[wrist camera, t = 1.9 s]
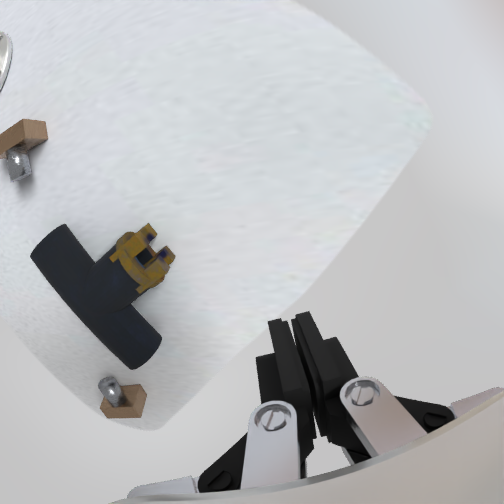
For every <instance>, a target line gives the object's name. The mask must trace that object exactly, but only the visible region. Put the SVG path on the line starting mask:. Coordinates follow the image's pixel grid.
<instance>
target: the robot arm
mask: <svg viewBox="0 0 504 504" xmlns="http://www.w3.org/2000/svg"><path fill="white" fill-rule="evenodd" d="M11 55H12V43H11V39H10V37H9V36H8V34H6V33H4V32H2V31H0V90H1V88H2V86H3V83H4V81H5V78H6V76H7V72H8V69H9V66H10V61H11ZM291 322H292V327H293V332H294V338H295V342H294V339H293V336H292V333H291V330H290V327H289V324H288V322H287V321H283V322H282V320H281V318H280V319H276V320H272V321H268V325H269V330H270V334H271V339H272V343H273V348H274V352H275V353H272V354H267V355H263V356H258V357H256V365H257V373H258V379H259V380H258V381H259V389H260V396H261V405H260V406H258V407H257V408H256V409H255V410H254V411H253V412H252V413H251V416H250V419H249V426H248V432H247V433H246V434H245V435H244V436H243V437H242V438H241V439H240V440H239V441H238V442H237V443H236V444H235V445H233V447H231V448H230V449H229V450H228V451H227V452H226V453H225V454H224V455H222V456H221V457H220V458H219V459H218V460H217V461H216V462H214V463H213V464H212V465H211V466H210V467H209V468H208V469H206V470H205V471H204V472H203V473H202V474H201V475H200V476H199V477H195V478H192V476H188V477H184V478H179V479H174V480H170V481H164V482H159V483H153V484H147V485H141V486H137V487H135V488H134V489H132V490H131V491H130V492H129V494H128V495H127V499H122V500H119V501H115V502H112V503H109V504H504V388H499V387H497V388H492V389H490V390H487V391H484V392H482V393H479V394H476V395H474V396H471V397H468V398H465V399H462V400H459V401H456V402H453V403H451V406H449V407H446V406H442V405H439V404H433V403H428V402H422V401H417V400H412V399H407V398H402V397H397V396H393V395H392V394H391V393H390V391H389V390H388V389H387V388H386V387H385V386H384V385H383V384H382V383H381V382H380V381H378V380H377V379H375V378H372V377H359V376H358V375H357V373H356V371H355V369H354V367H353V365H352V364H351V362H350V360H349V358H348V356H347V355H346V353H345V351H344V349H343V348H342V346H341V344H340V342H339V341H338V339H337V337H333V338H330V339H326V340H323V339H322V336H321V334H320V332H319V330H318V328H317V326H316V324H315V322H314V320H313V318H312V316H311V314H310V312H309V311H308V312H304V313H300V314H296V318H295V319H291ZM295 343H296V345H295ZM313 413H314V415H313ZM314 416H315V419H316V422H317V425H318V428H319V432H320V435H321V437H323V436H327V439H328V442H329V443H330V442H332V443H333V444H335V445H338V446H341V447H342V451H343V453H344V454H345V456H346V458H347V459H348V461H349V463H350V464H351V466H348V467H345V468H342V469H339V470H335V471H332V472H328V473H324V474H321V475H317V476H313V477H309V478H307V462H306V458H307V456H308V455H309V454H310V453H311V452H312V450H313V449H314V445H313V439H316V438H317V436H316V429H315V422H314Z"/></svg>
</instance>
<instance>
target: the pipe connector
mask: <svg viewBox="0 0 504 504" xmlns="http://www.w3.org/2000/svg"><path fill="white" fill-rule="evenodd" d="M156 235H157V233H156V232H155V230H154V229H153V228H152V227H151V225H150V224H149V223H148V224H147V225H145V226H144V227H143V228H142V229H141V230H140V231H138V232H137V233H134V232H127V233H125V234H124V235H123V236H122V237H121V238H120V239H119V240H118V241H117V243H116V244H115V245H114V246H113V247H112V248H111V249H110V250H109V251H108V252H107V253H106V254H105V255H104V256H103V257H101V258H100V259H99V260H98V261H97V262H96V263H95V262H94V261H93V259H92V258H91V257H90V256H89V254H88V253H87V252H86V251H85V249H84V248H83V247H82V245H81V244H80V243H79V241H78V240H77V239H76V238H75V236H74V235H73V234H72V232H71V231H70V229H69V228H68V227H67V225H66V224H63V225H61V226H59V227H57V228H56V229H54V230H53V231H52V232H50V233H49V234H48V235H47V236H46V237H45V238H44V239H43V240H42V241H41V242H40V243H39V244H38V245H37V246H36V247H35V249H34V250H33V251H32V253H31V255H30V257H31V259H32V260H33V262H34V263H35V264H36V266H37V267H38V269H39V270H40V271H41V273H42V274H43V275H44V276H45V278H46V279H47V280H48V282H49V283H50V284H51V285H52V287H53V288H54V289H55V290H56V292H57V293H58V294H59V295H60V297H61V298H62V299H63V300H64V301H65V302H66V304H67V305H68V306H69V307H70V308H71V309H72V311H73V312H74V313H75V314H76V315H77V316H78V317H79V318H80V320H81V321H82V322H83V323H84V324H85V325H86V326H87V327H88V328H89V329H90V330H91V331H92V332H93V334H94V335H95V336H96V337H97V338H98V339H99V340H100V341H101V342H102V343H103V344H104V345H105V346H106V347H107V348H108V349H109V350H110V351H111V352H112V353H113V354H114V355H115V356H117V357H118V358H119V359H120V360H121V361H122V362H123V363H124V364H125V365H126V366H127V367H128V368H129V369H131V370H134V369H137V368H139V367H140V366H142V365H143V364H144V363H146V362H147V361H148V360H149V359H150V358H151V357H152V356H153V354H154V353H155V352H156V350H157V349H158V347H159V345H160V343H161V340H162V337H161V335H160V334H159V333H158V332H157V331H156V330H155V329H154V328H153V327H152V326H151V325H150V324H149V323H148V322H147V321H146V320H145V319H144V318H143V317H142V316H141V315H140V314H139V312H138V311H137V310H136V309H135V308H134V307H133V306H132V305H131V304H130V303H132V302H133V301H134V300H135V299H137V298H138V297H139V296H141V295H142V294H143V293H145V292H146V291H147V290H148V289H150V288H153V287H155V286H157V285H158V284H159V283H161V282H162V281H163V280H164V277H165V274H167V272H168V270H169V268H170V267H169V264H171V263H172V262H173V261H174V259H175V257H176V256H175V255H174V254H173V253H172V251H171V250H170V249H169V248H168V247H167V246H165V247H164V248H163V249H162V250H160V251H159V252H158V253H157V254H156V253H155V252H154V250H153V249H152V248H151V247H150V245H149V243H150V241H151V240H152V239H154V238H155V237H156Z"/></svg>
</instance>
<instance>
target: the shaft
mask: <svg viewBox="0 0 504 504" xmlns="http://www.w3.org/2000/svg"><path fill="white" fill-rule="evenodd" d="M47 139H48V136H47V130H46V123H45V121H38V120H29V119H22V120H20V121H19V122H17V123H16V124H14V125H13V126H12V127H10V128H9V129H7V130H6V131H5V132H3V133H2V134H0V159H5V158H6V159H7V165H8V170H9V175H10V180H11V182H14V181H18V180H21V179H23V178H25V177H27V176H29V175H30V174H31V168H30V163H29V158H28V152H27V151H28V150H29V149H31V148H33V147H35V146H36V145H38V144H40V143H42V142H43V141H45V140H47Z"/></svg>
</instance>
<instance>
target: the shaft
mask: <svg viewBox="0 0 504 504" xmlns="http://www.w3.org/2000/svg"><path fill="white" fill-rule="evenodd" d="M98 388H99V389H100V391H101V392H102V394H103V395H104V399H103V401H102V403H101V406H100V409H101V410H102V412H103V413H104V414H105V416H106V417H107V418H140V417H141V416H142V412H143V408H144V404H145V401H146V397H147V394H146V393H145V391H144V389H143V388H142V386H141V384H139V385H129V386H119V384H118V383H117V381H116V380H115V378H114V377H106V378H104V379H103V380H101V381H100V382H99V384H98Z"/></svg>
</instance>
